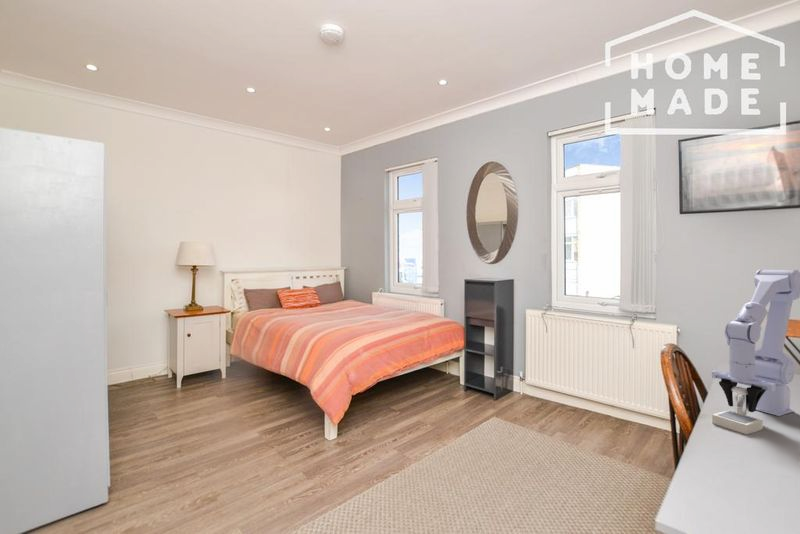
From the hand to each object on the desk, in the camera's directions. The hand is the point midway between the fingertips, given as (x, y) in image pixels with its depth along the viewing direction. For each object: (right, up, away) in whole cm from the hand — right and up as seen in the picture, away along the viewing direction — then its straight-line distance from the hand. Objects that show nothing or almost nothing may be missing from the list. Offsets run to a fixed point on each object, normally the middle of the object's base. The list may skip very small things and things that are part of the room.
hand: (741, 408), depth 114 cm
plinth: (-6, -3, -6) cm, 9 cm away
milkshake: (0, -3, 0) cm, 3 cm away
